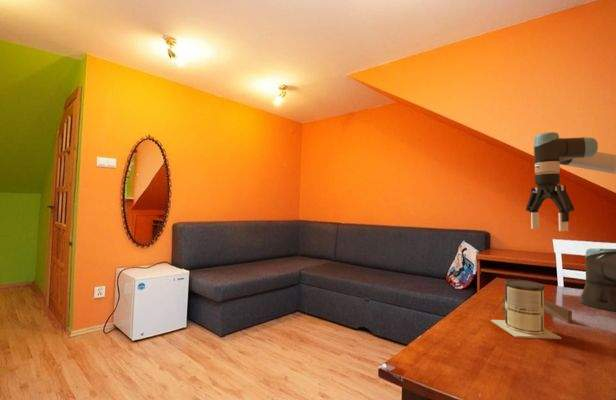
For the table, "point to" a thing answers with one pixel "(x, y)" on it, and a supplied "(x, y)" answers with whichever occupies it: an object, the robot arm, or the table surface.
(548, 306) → the wooden bars
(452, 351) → the table surface
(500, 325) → the mat
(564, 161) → the robot arm
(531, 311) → the coffee can
